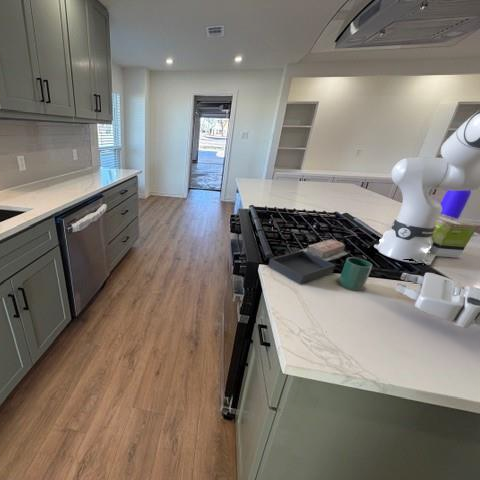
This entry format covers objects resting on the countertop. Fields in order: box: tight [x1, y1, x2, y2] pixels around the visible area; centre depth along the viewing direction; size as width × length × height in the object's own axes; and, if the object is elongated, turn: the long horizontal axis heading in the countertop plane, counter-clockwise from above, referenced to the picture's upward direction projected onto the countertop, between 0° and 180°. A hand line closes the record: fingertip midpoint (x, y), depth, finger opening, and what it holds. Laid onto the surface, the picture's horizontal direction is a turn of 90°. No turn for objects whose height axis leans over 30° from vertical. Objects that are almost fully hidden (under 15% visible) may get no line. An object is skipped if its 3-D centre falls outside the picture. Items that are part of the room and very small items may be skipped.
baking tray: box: [268, 249, 336, 285], centre depth 92 cm, size 18×13×3 cm
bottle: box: [440, 190, 472, 219], centre depth 127 cm, size 8×8×30 cm
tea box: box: [430, 214, 479, 259], centre depth 109 cm, size 15×10×15 cm, turn 176°
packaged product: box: [299, 238, 349, 262], centre depth 103 cm, size 18×5×10 cm
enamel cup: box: [338, 256, 373, 292], centre depth 82 cm, size 7×7×8 cm
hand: (398, 280), depth 74 cm, fingers open, 8 cm apart
